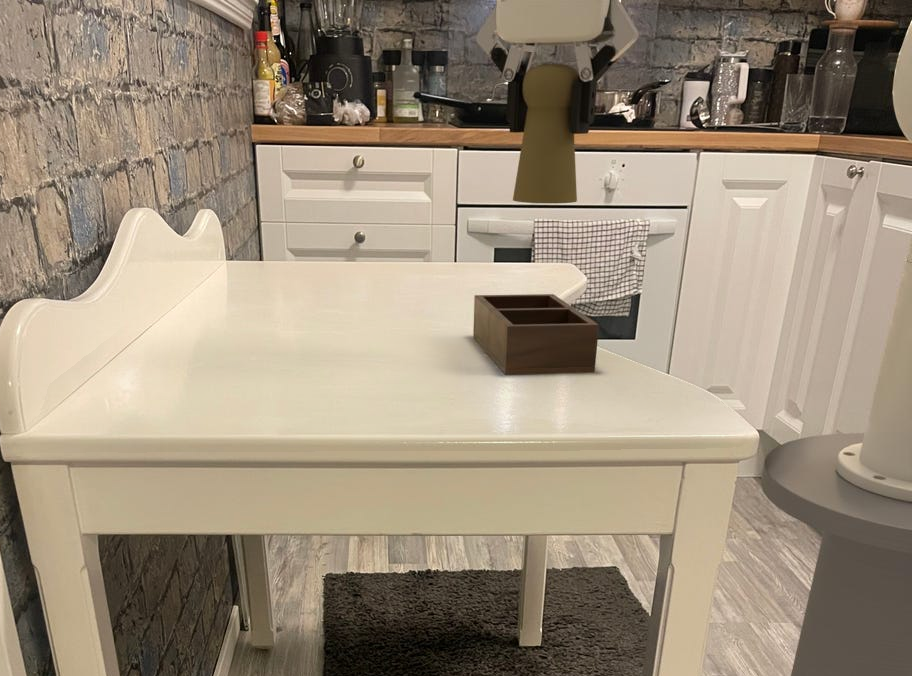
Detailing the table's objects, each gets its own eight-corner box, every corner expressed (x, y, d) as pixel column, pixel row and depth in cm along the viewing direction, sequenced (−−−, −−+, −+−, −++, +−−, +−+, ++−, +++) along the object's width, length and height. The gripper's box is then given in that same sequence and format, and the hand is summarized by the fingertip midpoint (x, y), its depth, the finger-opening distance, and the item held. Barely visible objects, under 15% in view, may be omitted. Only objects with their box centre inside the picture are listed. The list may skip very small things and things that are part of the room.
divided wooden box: (594, 372, 94) (599, 324, 92) (505, 374, 93) (507, 326, 91) (550, 335, 109) (553, 293, 107) (473, 337, 108) (474, 295, 106)
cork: (504, 201, 88) (510, 63, 83) (523, 197, 93) (529, 66, 88) (568, 204, 86) (578, 62, 81) (583, 199, 91) (594, 65, 86)
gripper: (679, -119, 77) (652, 134, 86) (489, -101, 84) (482, 130, 93) (651, -137, 72) (625, 135, 81) (450, -117, 79) (447, 131, 88)
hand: (549, 130), depth 87 cm, fingers closed on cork, 5 cm apart
